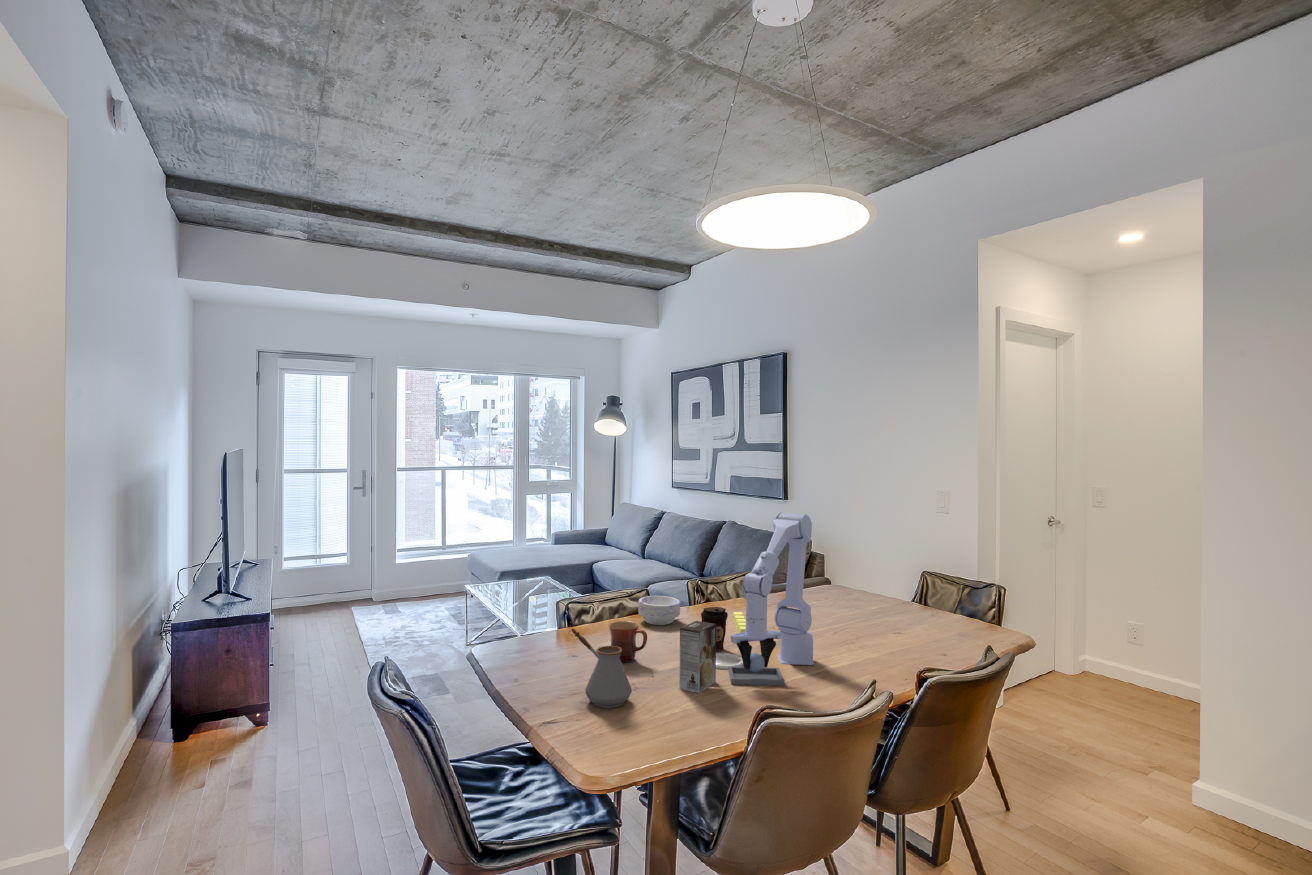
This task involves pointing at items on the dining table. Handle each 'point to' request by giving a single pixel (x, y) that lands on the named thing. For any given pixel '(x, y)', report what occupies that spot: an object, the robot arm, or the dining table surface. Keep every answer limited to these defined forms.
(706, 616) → the coffee cup
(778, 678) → the tray
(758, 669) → the ball
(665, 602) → the paper bowls
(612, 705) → the coffee pot
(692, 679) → the coffee box
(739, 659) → the saucer
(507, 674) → the dining table surface
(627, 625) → the mug
